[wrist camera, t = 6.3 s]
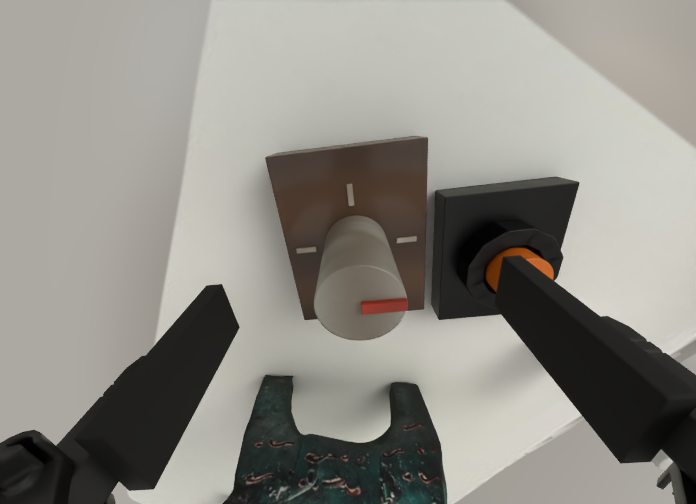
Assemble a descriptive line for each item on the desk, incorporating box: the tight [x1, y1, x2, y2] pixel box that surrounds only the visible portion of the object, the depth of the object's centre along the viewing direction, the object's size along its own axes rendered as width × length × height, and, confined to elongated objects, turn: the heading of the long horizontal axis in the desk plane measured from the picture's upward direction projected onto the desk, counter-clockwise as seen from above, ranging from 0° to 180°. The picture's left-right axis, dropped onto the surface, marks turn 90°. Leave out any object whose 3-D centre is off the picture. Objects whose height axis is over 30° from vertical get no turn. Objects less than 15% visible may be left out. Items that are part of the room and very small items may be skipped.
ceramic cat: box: [223, 375, 447, 504], centre depth 20 cm, size 20×6×20 cm, turn 85°
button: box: [485, 247, 554, 292], centre depth 18 cm, size 4×4×2 cm
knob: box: [314, 216, 408, 340], centre depth 15 cm, size 4×4×7 cm
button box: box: [431, 177, 579, 320], centre depth 20 cm, size 11×9×4 cm
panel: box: [265, 136, 428, 320], centre depth 20 cm, size 13×10×3 cm
